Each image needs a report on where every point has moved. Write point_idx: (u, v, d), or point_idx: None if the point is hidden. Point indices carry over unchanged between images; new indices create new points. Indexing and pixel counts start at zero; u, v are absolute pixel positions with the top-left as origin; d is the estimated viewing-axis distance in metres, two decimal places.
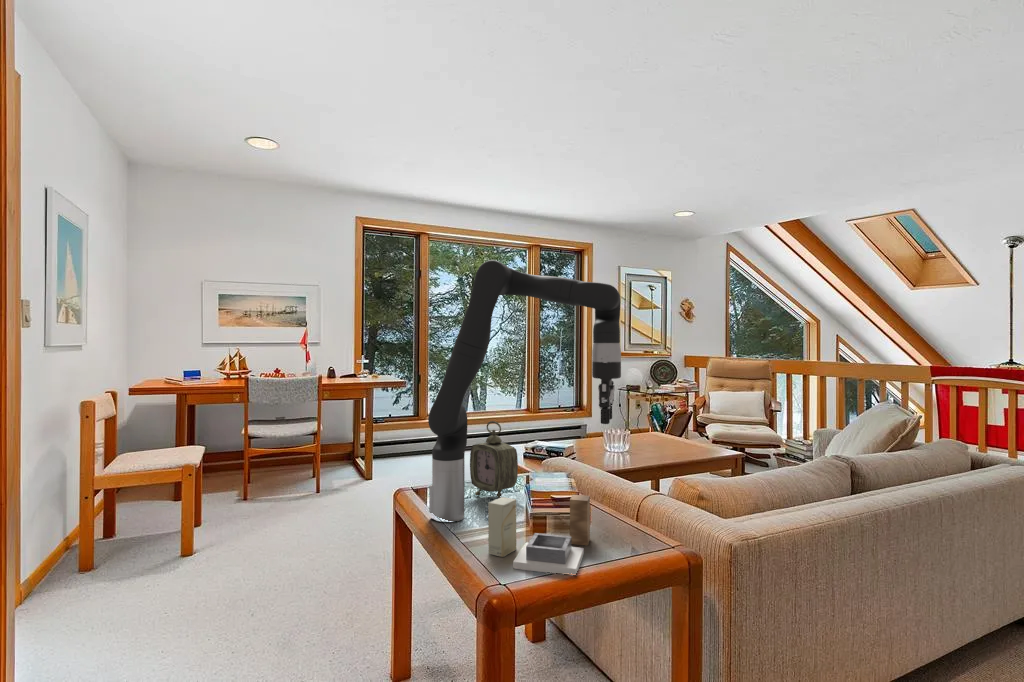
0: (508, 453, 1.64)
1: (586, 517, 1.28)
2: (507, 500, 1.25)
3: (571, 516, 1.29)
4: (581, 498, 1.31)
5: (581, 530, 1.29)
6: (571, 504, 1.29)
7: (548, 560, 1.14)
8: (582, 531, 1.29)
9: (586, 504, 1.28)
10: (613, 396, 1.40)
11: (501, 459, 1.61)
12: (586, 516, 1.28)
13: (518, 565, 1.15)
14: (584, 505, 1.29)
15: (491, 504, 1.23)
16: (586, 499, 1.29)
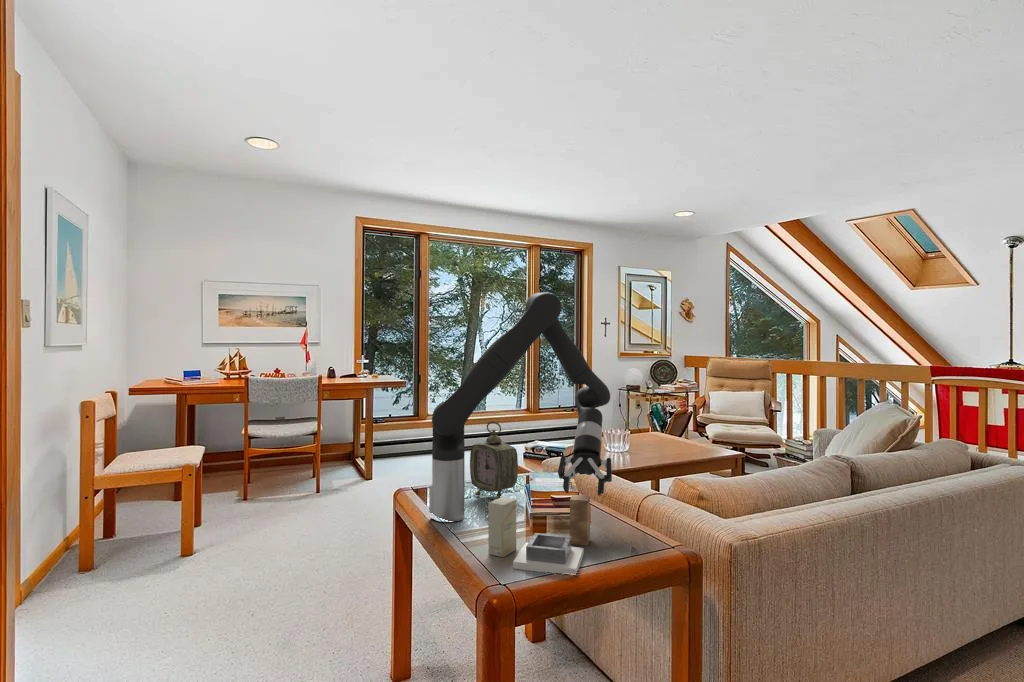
0: (508, 453, 1.64)
1: (586, 517, 1.28)
2: (507, 500, 1.25)
3: (571, 516, 1.29)
4: (581, 498, 1.31)
5: (581, 530, 1.29)
6: (571, 504, 1.29)
7: (548, 560, 1.14)
8: (582, 531, 1.29)
9: (586, 504, 1.28)
10: (576, 474, 1.42)
11: (501, 459, 1.61)
12: (586, 516, 1.28)
13: (518, 565, 1.15)
14: (584, 505, 1.29)
15: (491, 504, 1.23)
16: (586, 499, 1.29)
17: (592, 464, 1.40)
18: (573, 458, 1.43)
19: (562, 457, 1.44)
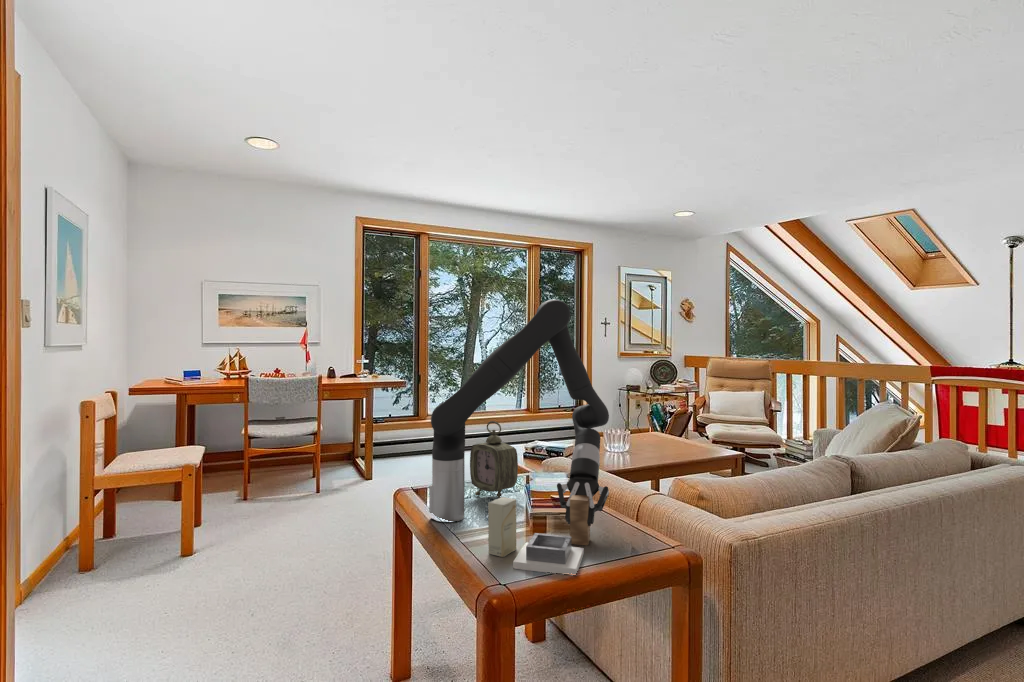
0: (508, 453, 1.64)
1: (586, 517, 1.28)
2: (507, 500, 1.25)
3: (571, 516, 1.29)
4: (581, 498, 1.31)
5: (581, 530, 1.29)
6: (571, 504, 1.29)
7: (548, 560, 1.14)
8: (582, 531, 1.29)
9: (586, 504, 1.28)
10: None
11: (501, 459, 1.61)
12: (586, 516, 1.28)
13: (518, 565, 1.15)
14: (584, 505, 1.29)
15: (491, 504, 1.23)
16: (586, 499, 1.29)
17: (587, 490, 1.33)
18: (569, 483, 1.36)
19: (558, 485, 1.36)
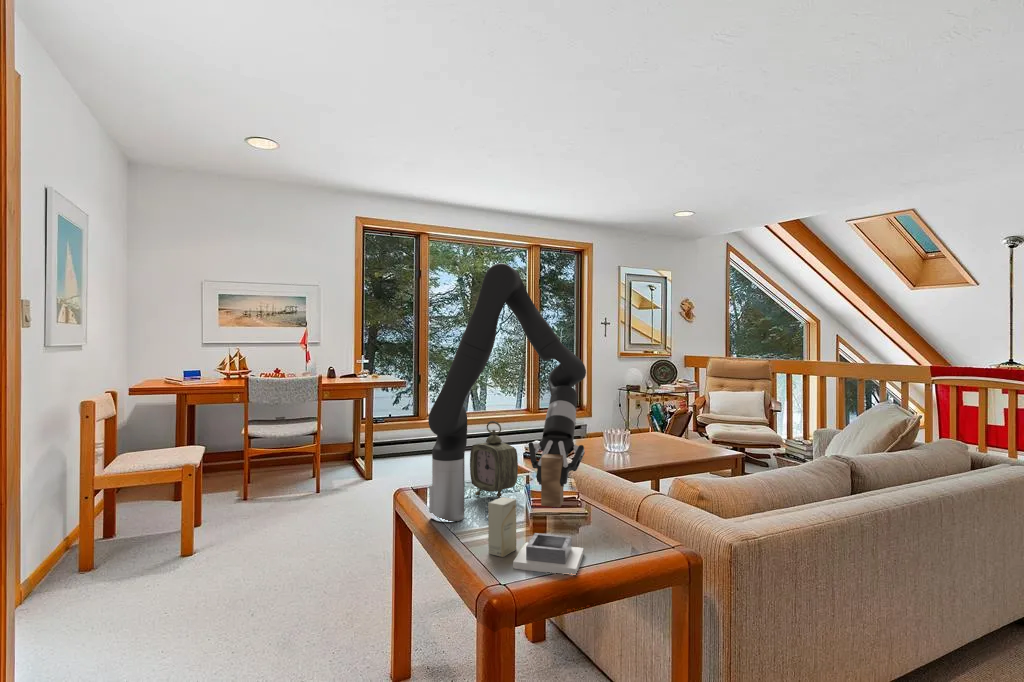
0: (508, 453, 1.64)
1: (559, 476, 1.18)
2: (507, 500, 1.25)
3: (542, 475, 1.19)
4: (553, 456, 1.20)
5: (553, 490, 1.18)
6: (543, 462, 1.19)
7: (548, 560, 1.14)
8: (554, 492, 1.18)
9: (559, 462, 1.18)
10: None
11: (501, 459, 1.61)
12: (559, 475, 1.18)
13: (518, 565, 1.15)
14: (557, 463, 1.18)
15: (491, 504, 1.23)
16: (559, 457, 1.19)
17: (561, 448, 1.23)
18: (542, 442, 1.26)
19: (530, 444, 1.26)
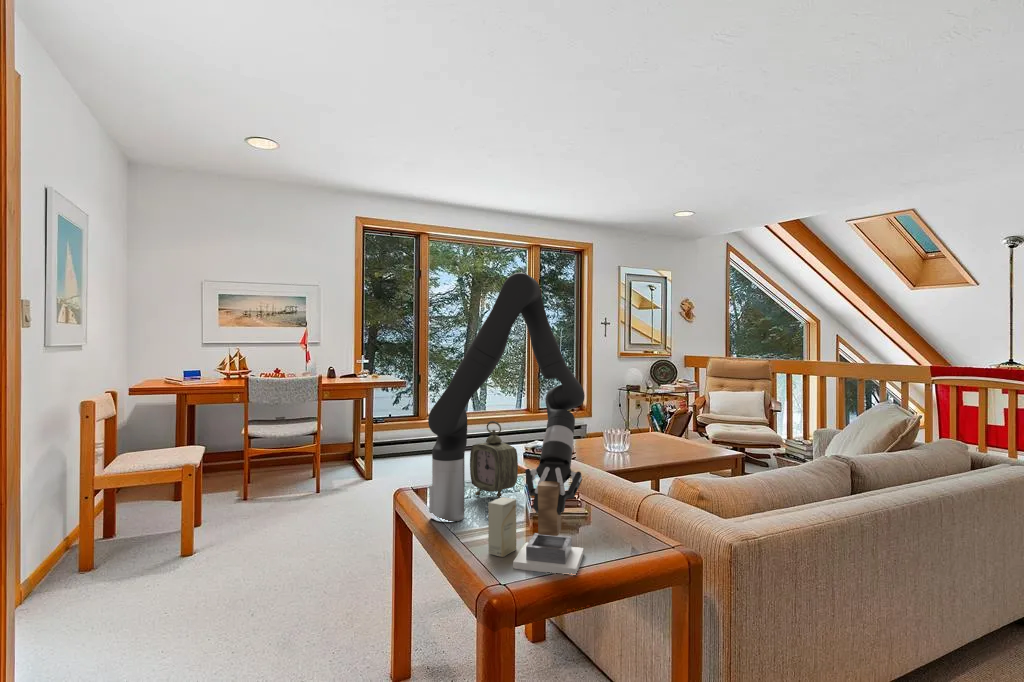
0: (508, 453, 1.64)
1: (555, 505, 1.16)
2: (507, 500, 1.25)
3: (539, 504, 1.17)
4: (550, 484, 1.19)
5: (550, 519, 1.17)
6: (539, 491, 1.17)
7: (548, 560, 1.14)
8: (551, 520, 1.16)
9: (555, 490, 1.16)
10: None
11: (501, 459, 1.61)
12: (555, 504, 1.16)
13: (518, 565, 1.15)
14: (553, 491, 1.16)
15: (491, 504, 1.23)
16: (556, 485, 1.17)
17: (558, 475, 1.21)
18: (539, 468, 1.24)
19: (527, 471, 1.24)
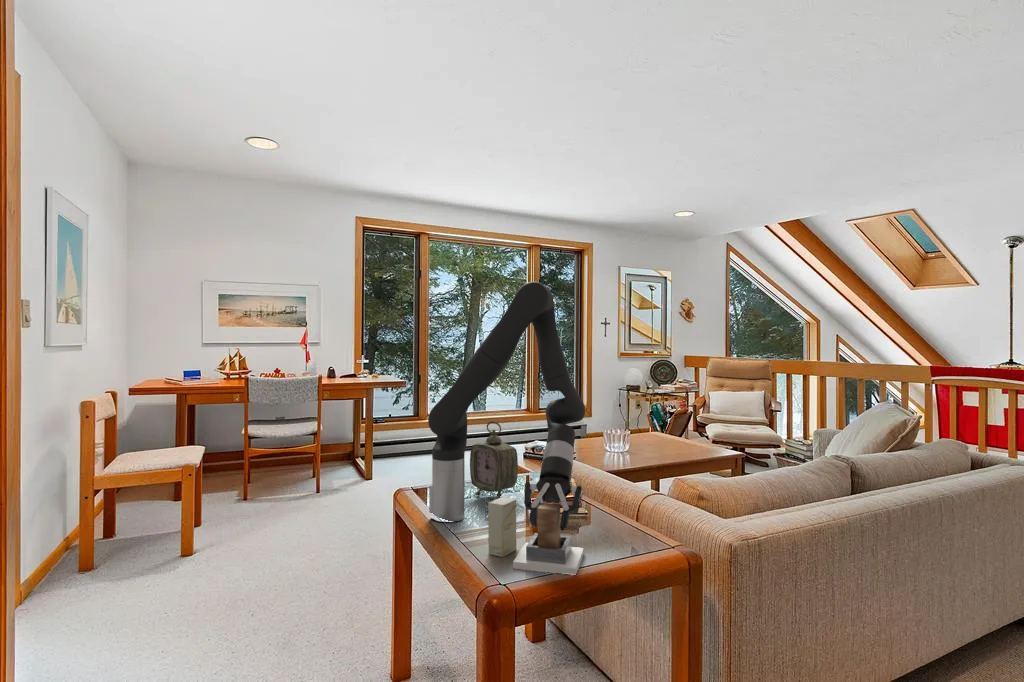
0: (508, 453, 1.64)
1: (555, 528, 1.16)
2: (507, 500, 1.25)
3: (539, 527, 1.17)
4: (550, 506, 1.19)
5: (549, 542, 1.17)
6: (539, 513, 1.17)
7: (548, 560, 1.14)
8: (551, 544, 1.16)
9: (555, 514, 1.16)
10: None
11: (501, 459, 1.61)
12: (555, 527, 1.16)
13: (518, 565, 1.15)
14: (553, 515, 1.16)
15: (491, 504, 1.23)
16: (555, 508, 1.17)
17: (559, 491, 1.21)
18: (539, 483, 1.24)
19: (526, 484, 1.25)
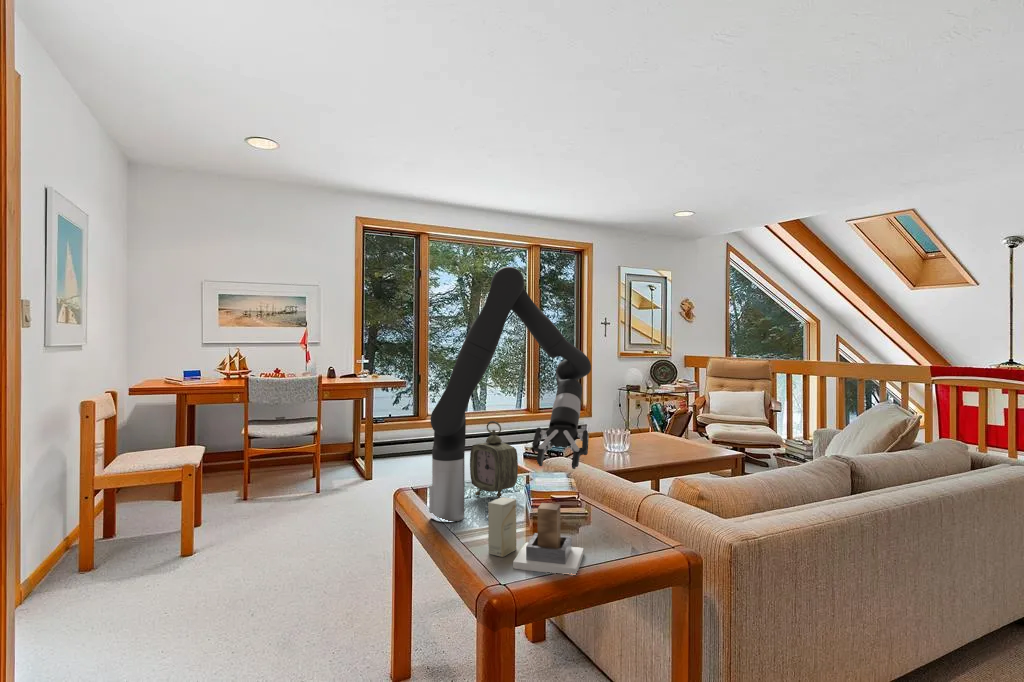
0: (508, 453, 1.64)
1: (555, 528, 1.16)
2: (507, 500, 1.25)
3: (539, 527, 1.17)
4: (550, 506, 1.19)
5: (549, 542, 1.17)
6: (539, 513, 1.17)
7: (548, 560, 1.14)
8: (551, 544, 1.16)
9: (555, 514, 1.16)
10: None
11: (501, 459, 1.61)
12: (555, 527, 1.16)
13: (518, 565, 1.15)
14: (553, 515, 1.16)
15: (491, 504, 1.23)
16: (555, 508, 1.17)
17: (568, 437, 1.34)
18: (549, 430, 1.37)
19: (537, 429, 1.38)
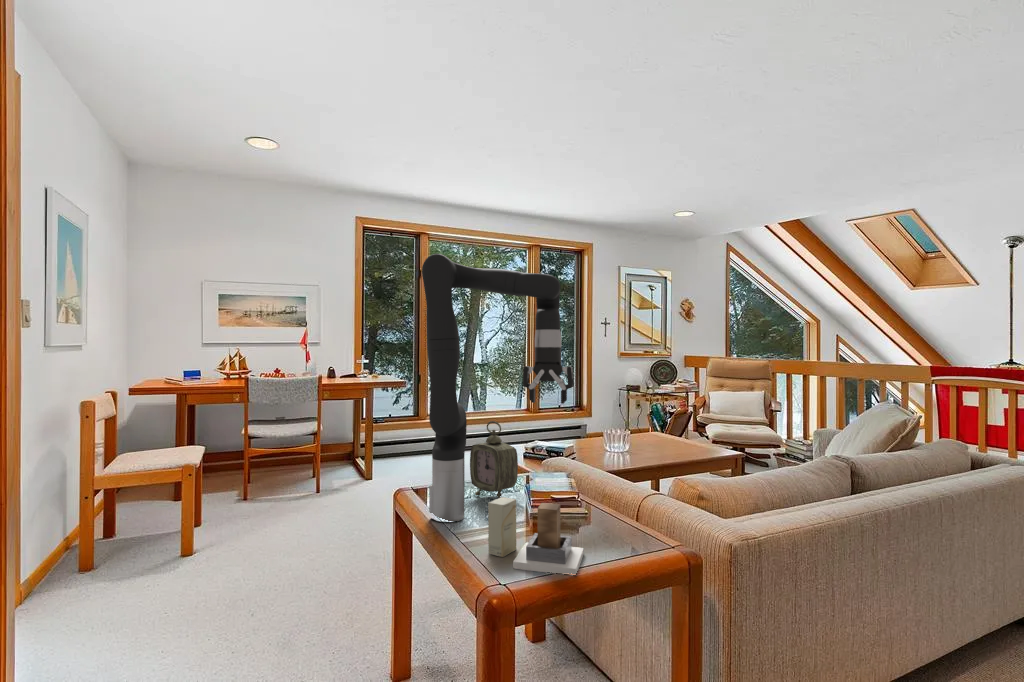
0: (508, 453, 1.64)
1: (555, 528, 1.16)
2: (507, 500, 1.25)
3: (539, 527, 1.17)
4: (550, 506, 1.19)
5: (549, 542, 1.17)
6: (539, 513, 1.17)
7: (548, 560, 1.14)
8: (551, 544, 1.16)
9: (555, 514, 1.16)
10: None
11: (501, 459, 1.61)
12: (555, 527, 1.16)
13: (518, 565, 1.15)
14: (553, 515, 1.16)
15: (491, 504, 1.23)
16: (555, 508, 1.17)
17: (554, 376, 1.46)
18: (535, 369, 1.48)
19: (525, 368, 1.48)
